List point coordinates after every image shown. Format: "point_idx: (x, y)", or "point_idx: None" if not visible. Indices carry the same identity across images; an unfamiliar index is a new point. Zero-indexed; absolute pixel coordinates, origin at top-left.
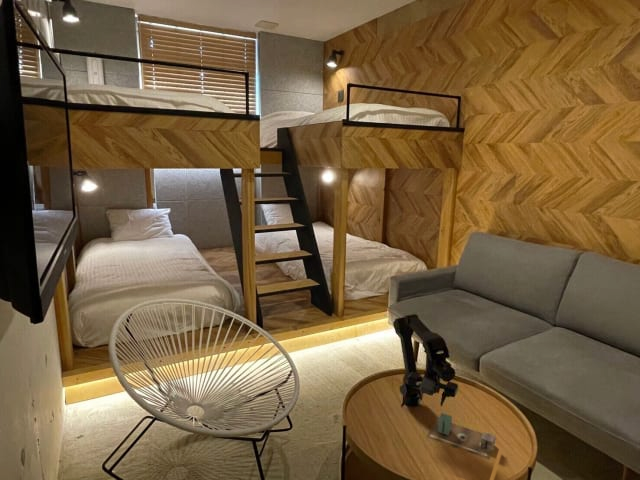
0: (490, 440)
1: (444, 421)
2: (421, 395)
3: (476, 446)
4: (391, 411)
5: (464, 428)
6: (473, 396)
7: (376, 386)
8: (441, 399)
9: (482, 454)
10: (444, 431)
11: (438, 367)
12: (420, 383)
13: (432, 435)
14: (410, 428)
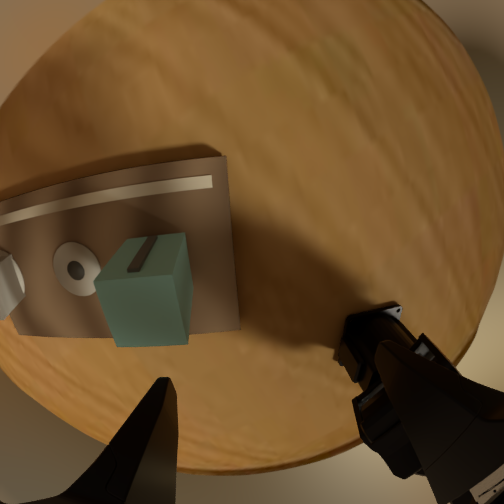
0: None
1: (127, 274)
2: (414, 379)
3: (20, 250)
4: (424, 256)
5: (105, 331)
6: (192, 453)
7: (462, 332)
8: (138, 458)
9: None
10: (143, 241)
11: None
12: (484, 477)
13: (200, 186)
14: (332, 195)
